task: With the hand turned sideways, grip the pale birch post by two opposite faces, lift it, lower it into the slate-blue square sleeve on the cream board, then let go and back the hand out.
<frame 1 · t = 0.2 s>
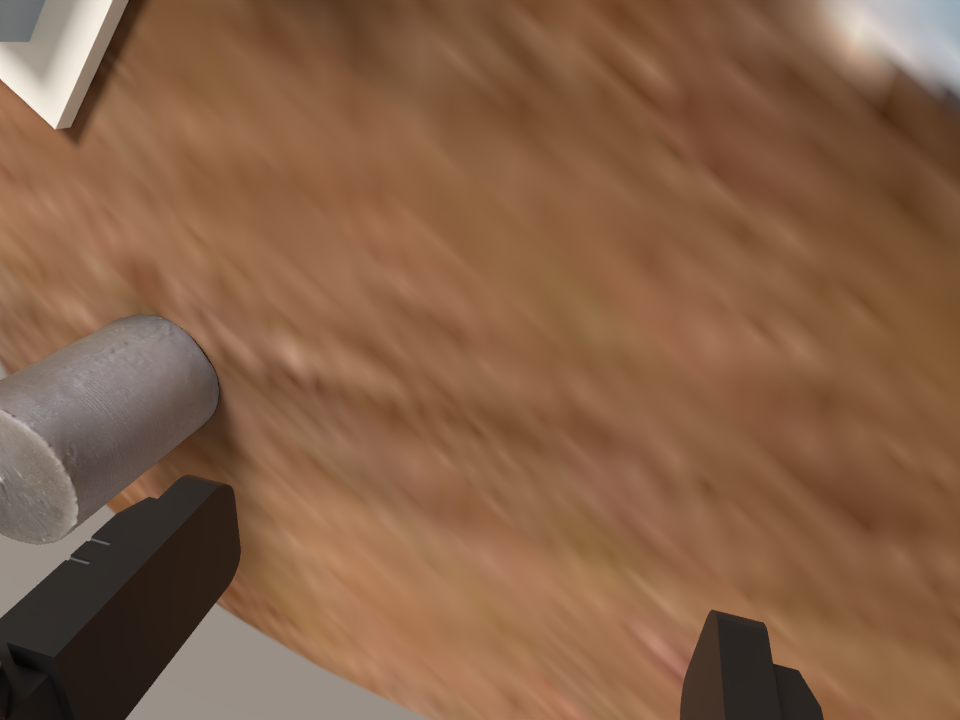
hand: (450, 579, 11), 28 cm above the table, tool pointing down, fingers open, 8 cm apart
pillar candle: (166, 372, 49), on the table
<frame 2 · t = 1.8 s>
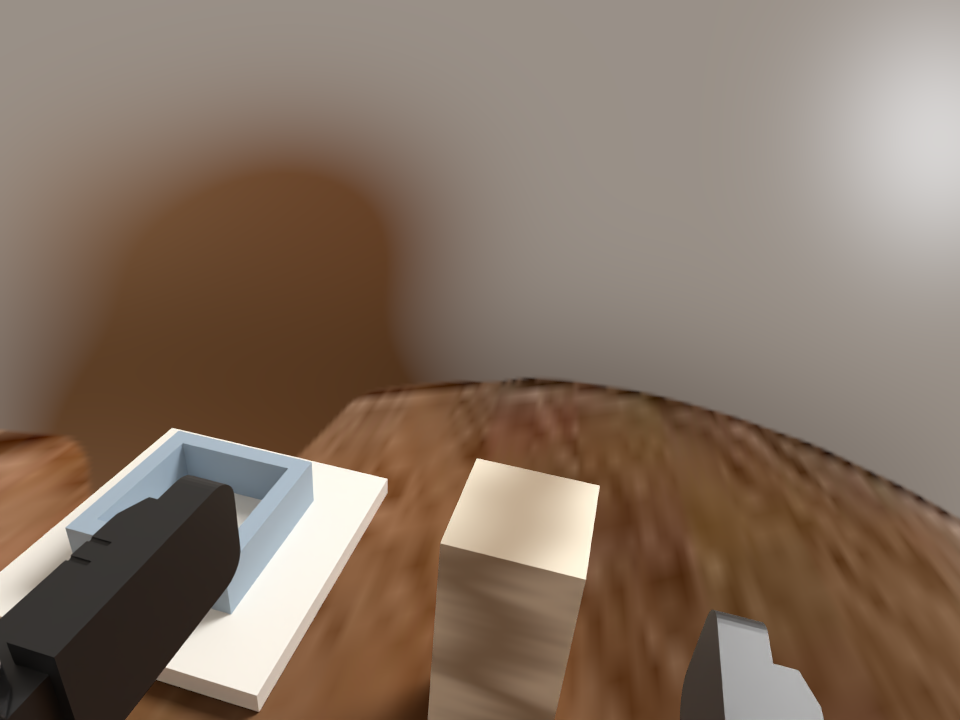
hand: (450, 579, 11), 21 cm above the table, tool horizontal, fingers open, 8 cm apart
sleeve holder: (207, 547, 38), on the table
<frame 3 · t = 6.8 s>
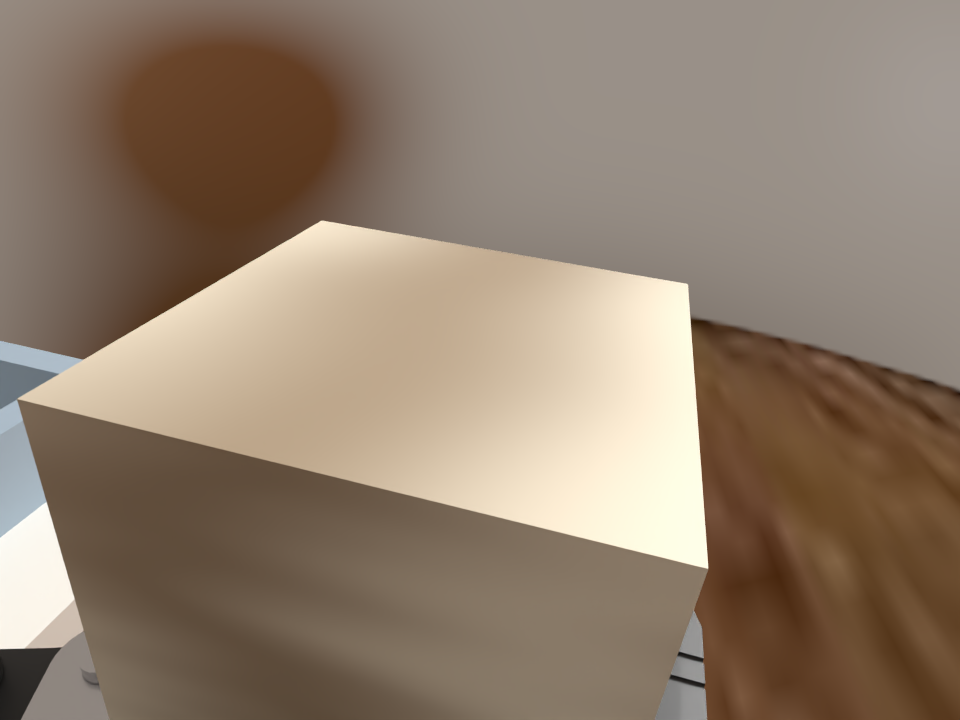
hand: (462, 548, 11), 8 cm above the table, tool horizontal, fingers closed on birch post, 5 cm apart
when the fingers open (10 cm above the table, at t = 13.6 s): birch post drops 1 cm, resting on sleeve holder.
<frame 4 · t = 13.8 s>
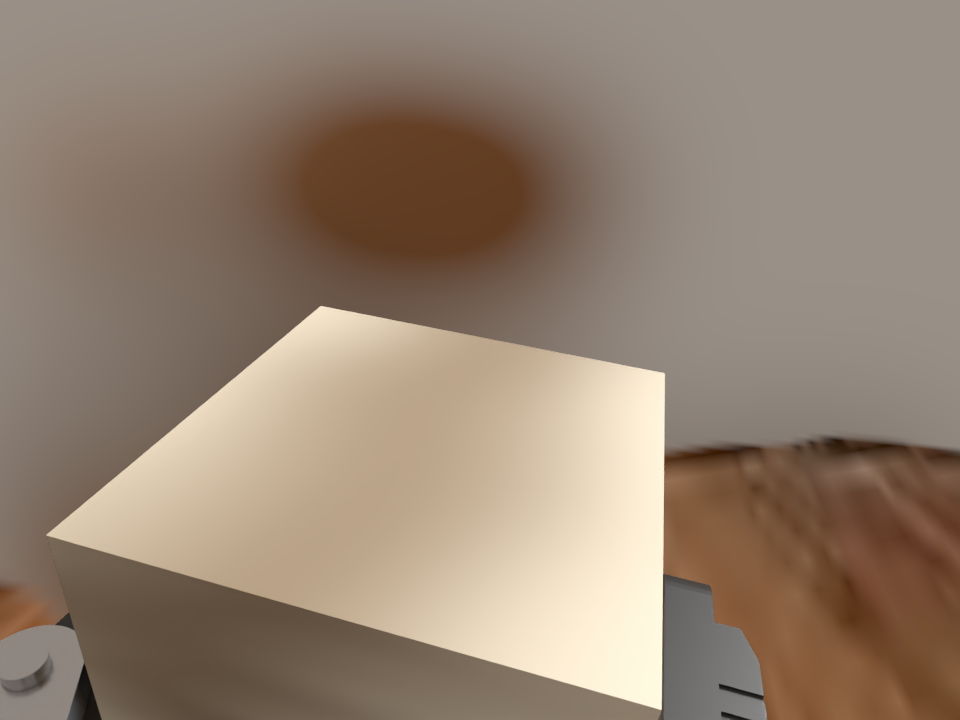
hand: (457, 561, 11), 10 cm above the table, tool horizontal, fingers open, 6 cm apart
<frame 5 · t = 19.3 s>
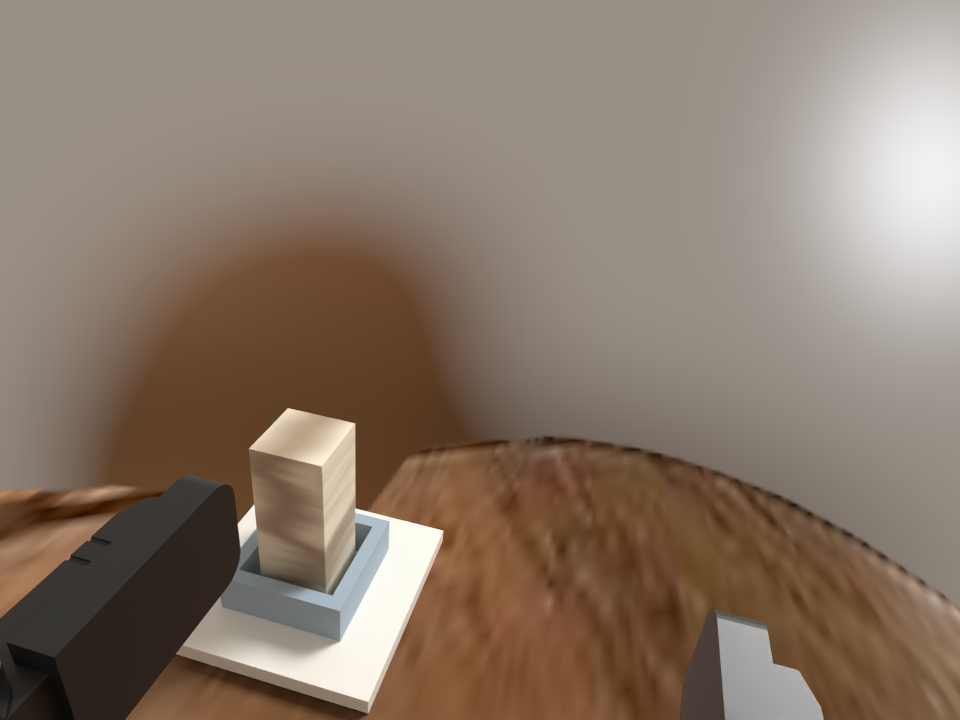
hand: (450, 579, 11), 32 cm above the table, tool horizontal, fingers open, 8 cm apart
birch post: (310, 577, 50), point 1 cm above the table, touching sleeve holder
sleeve holder: (311, 587, 50), on the table
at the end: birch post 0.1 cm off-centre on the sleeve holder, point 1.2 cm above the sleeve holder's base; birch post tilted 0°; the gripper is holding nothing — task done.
